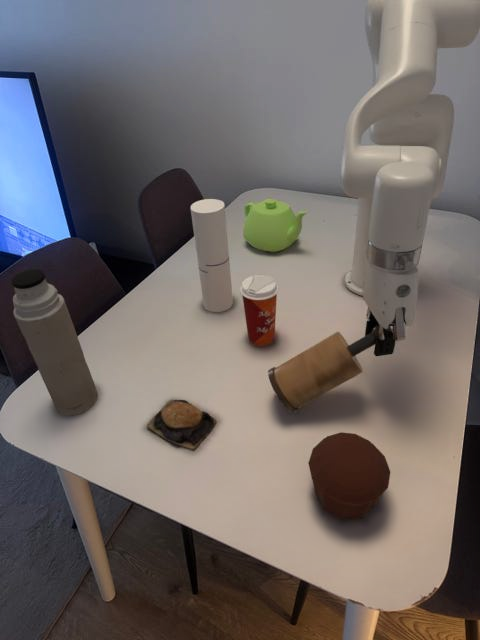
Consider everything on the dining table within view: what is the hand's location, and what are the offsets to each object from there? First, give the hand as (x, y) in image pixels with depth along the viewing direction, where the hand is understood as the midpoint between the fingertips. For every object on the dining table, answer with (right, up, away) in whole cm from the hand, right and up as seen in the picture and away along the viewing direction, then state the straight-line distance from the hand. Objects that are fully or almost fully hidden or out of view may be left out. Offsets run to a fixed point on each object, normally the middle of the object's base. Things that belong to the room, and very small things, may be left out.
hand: (378, 345), depth 78 cm
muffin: (-8, -22, -9) cm, 25 cm away
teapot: (-14, +26, +55) cm, 62 cm away
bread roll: (-34, -15, +4) cm, 37 cm away
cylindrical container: (-29, +8, +33) cm, 45 cm away
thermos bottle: (-55, -11, +10) cm, 57 cm away
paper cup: (-19, 0, +22) cm, 29 cm away
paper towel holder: (-16, -8, +3) cm, 19 cm away
